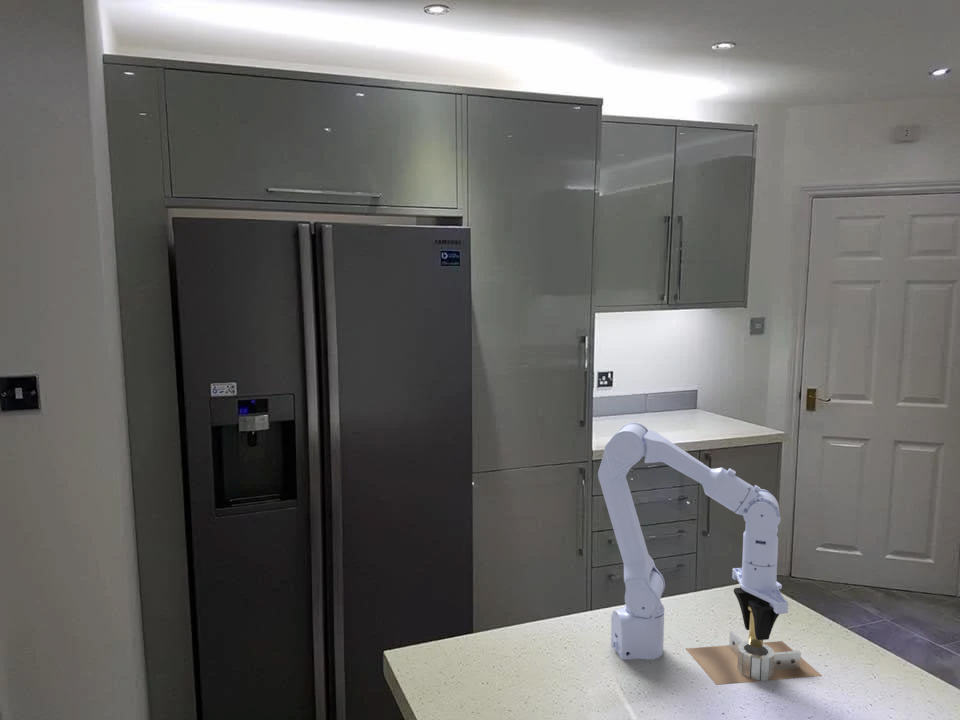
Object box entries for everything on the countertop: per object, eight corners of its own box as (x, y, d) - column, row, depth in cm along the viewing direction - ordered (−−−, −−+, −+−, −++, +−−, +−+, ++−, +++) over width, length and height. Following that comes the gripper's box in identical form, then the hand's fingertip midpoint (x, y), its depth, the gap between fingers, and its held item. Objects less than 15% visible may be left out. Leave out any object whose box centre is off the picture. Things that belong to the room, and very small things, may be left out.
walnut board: (716, 690, 115) (716, 684, 115) (685, 653, 127) (685, 648, 127) (821, 680, 118) (821, 675, 118) (781, 645, 130) (782, 641, 130)
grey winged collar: (748, 681, 116) (749, 660, 116) (716, 647, 127) (716, 627, 127) (809, 676, 118) (810, 655, 117) (772, 643, 129) (772, 623, 129)
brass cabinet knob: (752, 649, 117) (754, 611, 116) (742, 640, 120) (744, 603, 120) (769, 648, 117) (771, 610, 117) (759, 639, 120) (761, 602, 120)
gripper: (806, 575, 111) (802, 653, 112) (758, 544, 125) (755, 613, 126) (766, 578, 110) (763, 656, 111) (722, 546, 124) (720, 615, 125)
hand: (756, 633), depth 119 cm, fingers closed on brass cabinet knob, 3 cm apart
